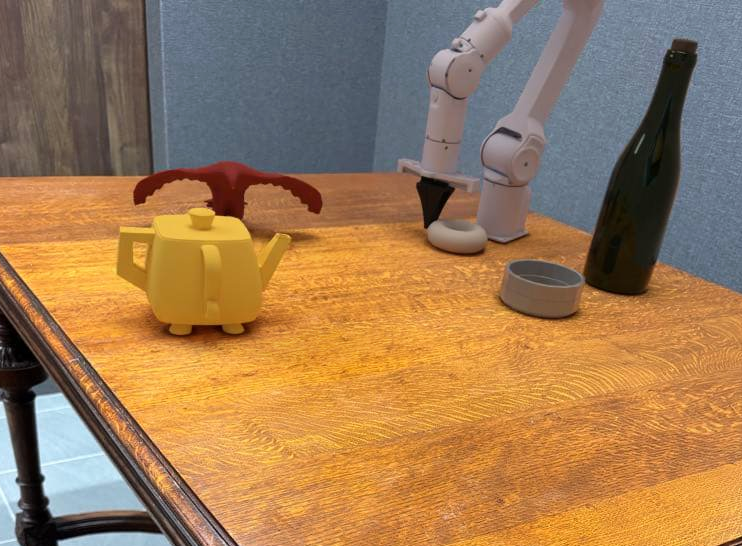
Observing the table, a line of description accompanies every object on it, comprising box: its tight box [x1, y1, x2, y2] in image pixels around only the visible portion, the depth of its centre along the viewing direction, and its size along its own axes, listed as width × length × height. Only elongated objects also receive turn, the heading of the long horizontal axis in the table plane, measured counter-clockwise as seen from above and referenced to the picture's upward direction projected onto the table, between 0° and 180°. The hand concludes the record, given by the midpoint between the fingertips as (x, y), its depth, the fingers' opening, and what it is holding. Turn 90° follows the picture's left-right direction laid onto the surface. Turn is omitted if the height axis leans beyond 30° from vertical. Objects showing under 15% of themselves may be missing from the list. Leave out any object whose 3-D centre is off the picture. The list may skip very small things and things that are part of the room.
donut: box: [426, 218, 489, 255], centre depth 132 cm, size 10×3×10 cm
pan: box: [498, 258, 586, 319], centre depth 114 cm, size 11×11×4 cm
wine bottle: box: [581, 37, 699, 295], centre depth 117 cm, size 10×10×33 cm
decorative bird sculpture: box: [132, 160, 324, 221], centre depth 124 cm, size 28×9×15 cm
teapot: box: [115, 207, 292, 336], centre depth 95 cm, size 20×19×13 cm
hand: (429, 228), depth 135 cm, fingers closed
